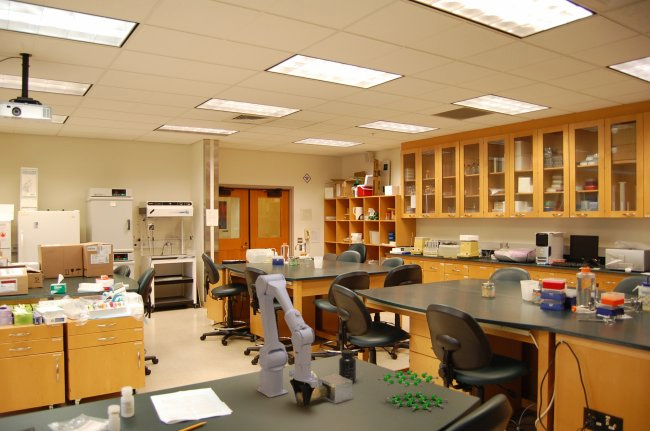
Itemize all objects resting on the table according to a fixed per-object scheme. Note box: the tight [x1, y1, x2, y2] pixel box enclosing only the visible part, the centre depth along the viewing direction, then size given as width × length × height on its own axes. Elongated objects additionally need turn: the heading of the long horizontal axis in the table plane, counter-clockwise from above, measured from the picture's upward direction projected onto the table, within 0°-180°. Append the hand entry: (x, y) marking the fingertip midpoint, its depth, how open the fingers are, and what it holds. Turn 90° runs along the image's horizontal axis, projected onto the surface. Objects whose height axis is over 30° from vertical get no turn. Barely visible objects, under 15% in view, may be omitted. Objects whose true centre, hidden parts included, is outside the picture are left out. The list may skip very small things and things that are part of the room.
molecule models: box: [377, 369, 449, 412], centre depth 174 cm, size 17×25×10 cm, turn 91°
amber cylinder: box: [295, 386, 328, 405], centre depth 173 cm, size 4×11×4 cm, turn 127°
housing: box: [317, 373, 353, 404], centre depth 179 cm, size 10×8×6 cm
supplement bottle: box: [338, 349, 357, 384], centre depth 196 cm, size 7×7×12 cm
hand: (302, 402), depth 171 cm, fingers closed on amber cylinder, 4 cm apart
